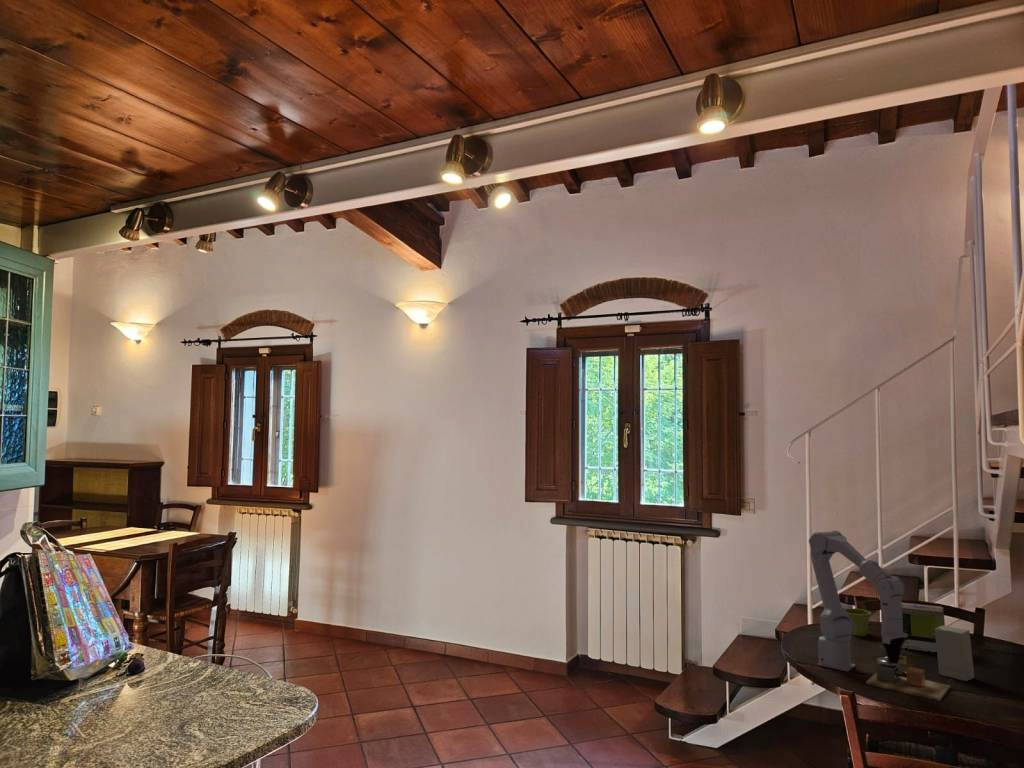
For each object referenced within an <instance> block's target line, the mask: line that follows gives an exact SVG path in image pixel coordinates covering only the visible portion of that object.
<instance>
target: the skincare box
mask: <svg viewBox="0 0 1024 768" xmlns="http://www.w3.org/2000/svg"><path fill="white" fill-rule="evenodd" d="M935 636H936V646H937V653H936V654H937V656H936V657H937V666H938V674H941V676H944V677H947V678H948V677H949V678H953V679H956V680H960V681H964V682H968V681H969V680H970V681H971V680H972V679H974V678H975V670H974V661H973V652H972V644H971V635H970V630H969V629H964V628H960V627H959V628H958V627H952V626H948V625H945V626H940V627H937V628H935Z"/></svg>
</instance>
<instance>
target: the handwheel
mask: <svg viewBox="0 0 1024 768" xmlns="http://www.w3.org/2000/svg"><path fill="white" fill-rule="evenodd" d="M876 662H877V664H878V663H879V664H882V665H885V666H899V663H900V665H901V664H902V665H905V666H906V665H907V656H904V655H901V654H900V656H899V661H898V663H897V664H894V663H890V662H889V659H888V656H887V655H885V656H884V657H881V656H880V657H877V659H876Z"/></svg>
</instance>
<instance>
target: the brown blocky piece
mask: <svg viewBox="0 0 1024 768" xmlns="http://www.w3.org/2000/svg"><path fill="white" fill-rule="evenodd" d="M896 676H901V677H905V678H907V684H911V685H916V686H920V687H923V686H924V684H925V680H926V670H925V669H923V668H917V667H913V666H909V667H908V668H907V669H906V670H903V669H901V670H897V669H896Z"/></svg>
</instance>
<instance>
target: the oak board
mask: <svg viewBox="0 0 1024 768" xmlns="http://www.w3.org/2000/svg"><path fill="white" fill-rule="evenodd" d="M866 685H869V686H874V687H876V688H877V687H879V688H882V689H886V690H890V691H896V692H899V693H904V694H907V695H913V696H916V697H921V698H925V699H929V700H933V699H935V700H934V701H937V700H938V702H940V701H941V700H942V699H943V698H944V697H945V696H946V694H947V693H948V692H949V691H948V690H950V689H951V684H946V683H940V682H937V681H933V680H928V679H925V684H924V686H923V687H920V686H916V685H911V684H907V678H905V677H901V679H900V680H898V681H897V682H896V683H895V684H892V683H888V682H884V681H879V680H877V673H876V672H875V673H874V674H873V675H872V676H871V677H869V679H867V680H866Z"/></svg>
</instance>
